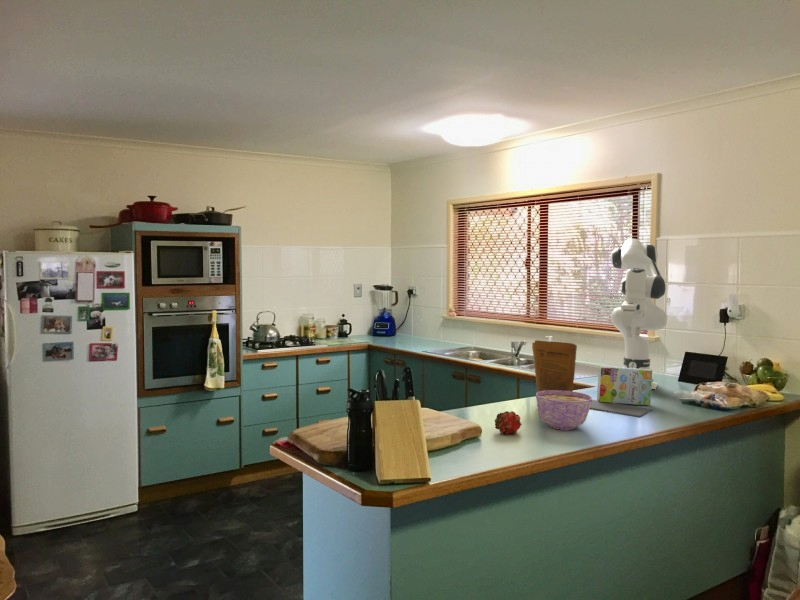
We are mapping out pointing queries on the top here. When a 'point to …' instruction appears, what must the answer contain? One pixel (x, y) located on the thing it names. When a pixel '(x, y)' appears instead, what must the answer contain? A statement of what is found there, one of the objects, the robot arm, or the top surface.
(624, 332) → the robot arm
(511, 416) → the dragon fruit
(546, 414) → the bowl of food
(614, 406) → the charcoal rubber mat
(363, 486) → the top surface
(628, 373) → the snack box
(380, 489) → the top surface
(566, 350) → the pancake mix bag
